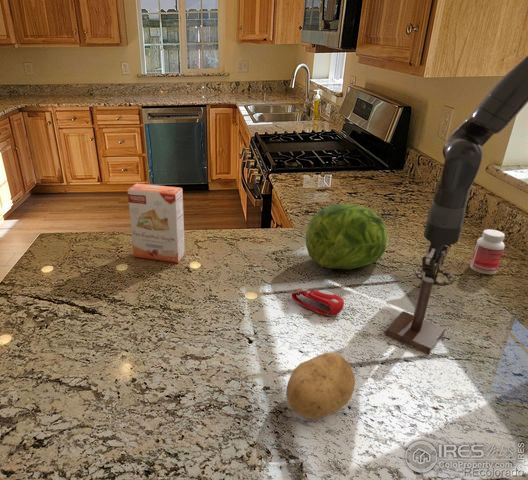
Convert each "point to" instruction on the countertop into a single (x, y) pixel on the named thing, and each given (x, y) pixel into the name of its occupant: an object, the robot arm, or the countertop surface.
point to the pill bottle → (488, 252)
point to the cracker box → (157, 222)
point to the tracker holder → (319, 300)
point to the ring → (437, 281)
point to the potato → (320, 386)
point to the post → (417, 324)
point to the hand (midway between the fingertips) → (429, 283)
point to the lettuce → (346, 236)
